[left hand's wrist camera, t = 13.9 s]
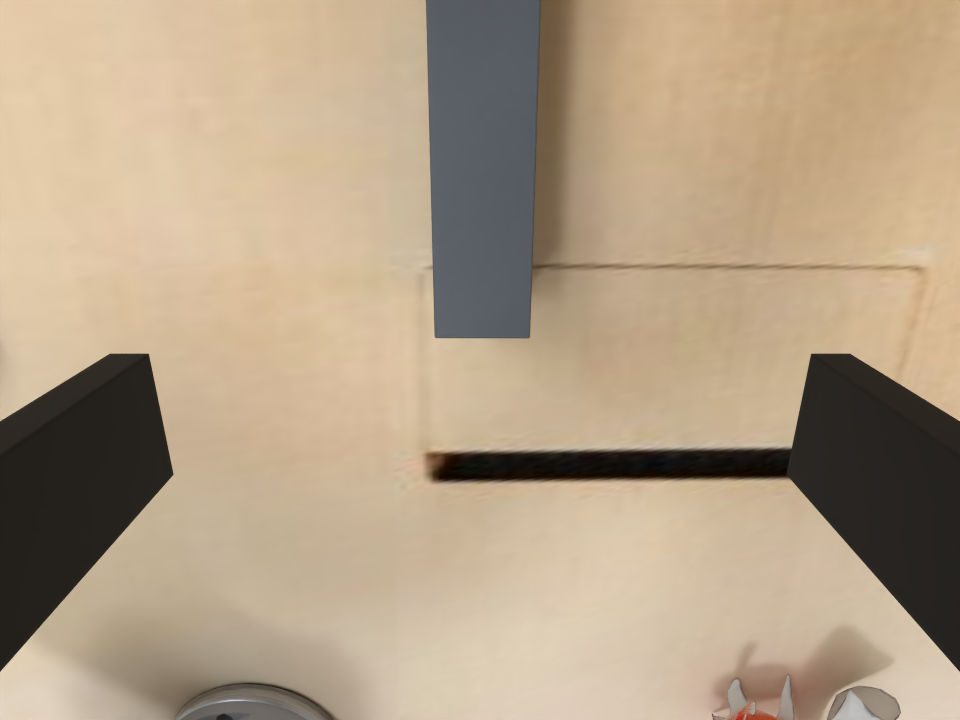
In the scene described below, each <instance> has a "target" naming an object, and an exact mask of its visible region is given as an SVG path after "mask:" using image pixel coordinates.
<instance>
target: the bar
mask: <svg viewBox="0 0 960 720" xmlns="http://www.w3.org/2000/svg"><path fill="white" fill-rule="evenodd" d="M540 9H541V0H426V16H427V55H428V94H429V132H430V171H431V210H432V249H433V288H434V326H435V338H529V337H530V318H531V287H532V256H533V225H534V194H535V163H536V132H537V101H538V70H539V39H540Z"/></svg>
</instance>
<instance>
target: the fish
mask: <svg viewBox="0 0 960 720" xmlns="http://www.w3.org/2000/svg"><path fill="white" fill-rule="evenodd" d="M727 697H728V702H729V705H730V715H729V716H728V717H727V718H722V717H715V716H714V715H713V714H712V717H713V720H794V708H793V702H792V694H791V684H790V676H788V675H787V678H786V682H785V685H784V688H783V692H782V697H781V704H780V710H779V713H778V715H777V717H776V718H775V717H773V716H771V715H769V714H767V713H765V712H762V711H758V710H756V701H754V702H753V703H751V704H748V705H747V700H746V697H745V695H744V693H743V691H742V688H741V684H740V681H739V680H738V679H735V680H734V681H733V682H732V684H731V686H730V688H729V689H728V693H727ZM900 713H901V711H900V707H899V704H898V702H897V700H896V699H895V698H894V697H892V696H891V695H889V694H887V693H886V692H884V691H883V690H881V689H877V688H873V687H865V686H857V687H853V688H850V689H847V690H845V691H843V692H841V693H839V694H838V695H836V698H835V700H834V702H833V704H832V707H831V709H830V711H829V714H828V718H827V720H896V719H897V718H898V717H899V715H900Z"/></svg>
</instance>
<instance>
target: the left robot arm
mask: <svg viewBox="0 0 960 720" xmlns="http://www.w3.org/2000/svg"><path fill="white" fill-rule="evenodd" d="M172 476H173V470H172V465H171V460H170V455H169V450H168V445H167V441H166V436H165V431H164V426H163V421H162V416H161V411H160V406H159V402H158V397H157V392H156V387H155V382H154V377H153V372H152V367H151V362H150V358H149V354H109V355H107V356H106V357H104V358H102V359H101V360H99V361H98V362H96V363H94V364H93V365H91V366H89V367H88V368H86V369H85V370H83V371H81V372H80V373H78V374H76V375H75V376H73V377H72V378H70V379H68V380H67V381H65V382H63V383H62V384H60V385H59V386H57V387H55V388H54V389H52V390H50V391H49V392H47V393H46V394H44V395H42V396H41V397H39V398H37V399H36V400H34V401H33V402H31V403H29V404H28V405H26V406H24V407H23V408H21V409H20V410H18V411H16V412H15V413H13V414H11V415H10V416H8V417H7V418H5V419H3V420H2V421H0V671H1V670H2V669H3V668H4V667H5V666H6V664H7V663H8V662H9V661H10V660H11V659H12V658H13V657H14V655H15V654H16V653H17V652H18V651H19V650H20V649H21V647H22V646H23V645H24V644H25V643H26V642H27V641H28V639H29V638H30V637H31V636H32V635H33V634H34V633H35V631H36V630H37V629H38V628H39V627H40V626H41V625H42V624H43V622H44V621H45V620H46V619H47V618H48V617H49V616H50V614H51V613H52V612H53V611H54V610H55V609H56V608H57V606H58V605H59V604H60V603H61V602H62V601H63V600H64V599H65V597H66V596H67V595H68V594H69V593H70V592H71V591H72V589H73V588H74V587H75V586H76V585H77V584H78V583H79V581H80V580H81V579H82V578H83V577H84V576H85V575H86V573H87V572H88V571H89V570H90V569H91V568H92V567H93V566H94V564H95V563H96V562H97V561H98V560H99V559H100V558H101V556H102V555H103V554H104V553H105V552H106V551H107V550H108V548H109V547H110V546H111V545H112V544H113V543H114V542H115V541H116V539H117V538H118V537H119V536H120V535H121V534H122V533H123V531H124V530H125V529H126V528H127V527H128V526H129V525H130V523H131V522H132V521H133V520H134V519H135V518H136V517H137V515H138V514H139V513H140V512H141V511H142V510H143V509H144V508H145V506H146V505H147V504H148V503H149V502H150V501H151V500H152V498H153V497H154V496H155V495H156V494H157V493H158V492H159V490H160V489H161V488H162V487H163V486H164V485H165V484H166V483H167V481H168V480H169V479H170V478H171V477H172ZM787 476H788V477H789V478H790V479H791V480H792V481H793V483H794V484H795V485H796V486H797V487H798V488H799V489H800V490H801V492H802V493H803V494H804V495H805V496H806V497H807V498H808V500H809V501H810V502H811V503H812V504H813V505H814V506H815V508H816V509H817V510H818V511H819V512H820V513H821V514H822V515H823V517H824V518H825V519H826V520H827V521H828V522H829V523H830V525H831V526H832V527H833V528H834V529H835V530H836V531H837V533H838V534H839V535H840V536H841V537H842V538H843V539H844V541H845V542H846V543H847V544H848V545H849V546H850V547H851V548H852V550H853V551H854V552H855V553H856V554H857V555H858V556H859V558H860V559H861V560H862V561H863V562H864V563H865V564H866V566H867V567H868V568H869V569H870V570H871V571H872V572H873V573H874V575H875V576H876V577H877V578H878V579H879V580H880V581H881V583H882V584H883V585H884V586H885V587H886V588H887V589H888V591H889V592H890V593H891V594H892V595H893V596H894V597H895V599H896V600H897V601H898V602H899V603H900V604H901V605H902V606H903V608H904V609H905V610H906V611H907V612H908V613H909V614H910V616H911V617H912V618H913V619H914V620H915V621H916V622H917V624H918V625H919V626H920V627H921V628H922V629H923V630H924V631H925V633H926V634H927V635H928V636H929V637H930V638H931V639H932V641H933V642H934V643H935V644H936V645H937V646H938V647H939V649H940V650H941V651H942V652H943V653H944V654H945V655H946V657H947V658H948V659H949V660H950V661H951V662H952V663H953V664H954V666H955V667H956V668H957V669H958V670H959V671H960V421H958V420H957V419H955V418H953V417H952V416H950V415H949V414H947V413H945V412H944V411H942V410H940V409H939V408H937V407H936V406H934V405H932V404H931V403H929V402H927V401H926V400H924V399H923V398H921V397H919V396H918V395H916V394H914V393H913V392H911V391H910V390H908V389H906V388H905V387H903V386H901V385H900V384H898V383H897V382H895V381H893V380H892V379H890V378H888V377H887V376H885V375H884V374H882V373H880V372H879V371H877V370H875V369H874V368H872V367H871V366H869V365H867V364H866V363H864V362H862V361H861V360H859V359H858V358H856V357H854V356H853V355H851V354H811V358H810V362H809V367H808V372H807V377H806V382H805V387H804V392H803V397H802V402H801V406H800V411H799V416H798V421H797V426H796V431H795V436H794V441H793V445H792V450H791V455H790V460H789V465H788V470H787ZM175 720H332V719H331V718H330V717H329V716H328V715H327V714H326V713H325V712H324V711H323V710H322V709H320V708H319V707H318V706H317V705H315V704H313V703H312V702H310V701H309V700H307V699H305V698H303V697H301V696H299V695H297V694H295V693H292V692H289V691H287V690H283V689H280V688H276V687H271V686H265V685H256V684H237V685H229V686H223V687H219V688H215V689H212V690H209V691H207V692H205V693H202V694H200V695H199V696H197V697H195V698H194V699H192V700H191V701H189V702H188V703H187V704H186V705H185V706H184V707H183V708H182V709H181V710H180V712H179V713H178V715H177V716H176V718H175Z"/></svg>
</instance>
